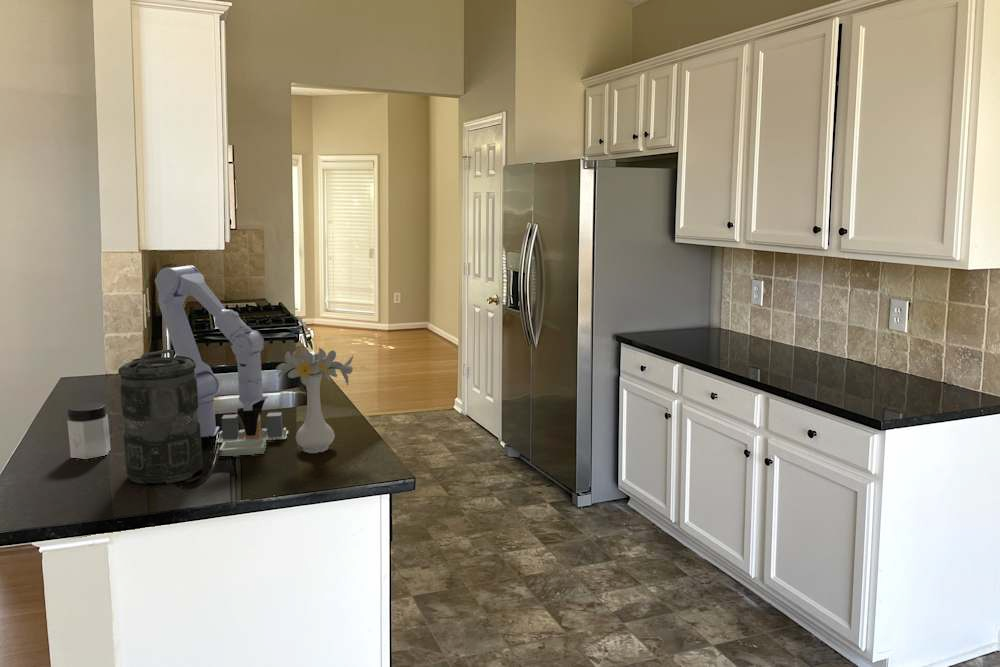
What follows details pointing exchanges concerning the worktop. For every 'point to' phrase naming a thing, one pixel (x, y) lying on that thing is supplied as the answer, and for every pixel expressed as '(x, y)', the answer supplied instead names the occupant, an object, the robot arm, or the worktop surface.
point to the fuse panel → (233, 434)
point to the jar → (88, 430)
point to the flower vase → (314, 394)
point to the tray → (242, 447)
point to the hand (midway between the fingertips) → (253, 431)
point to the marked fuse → (258, 431)
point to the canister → (160, 418)
